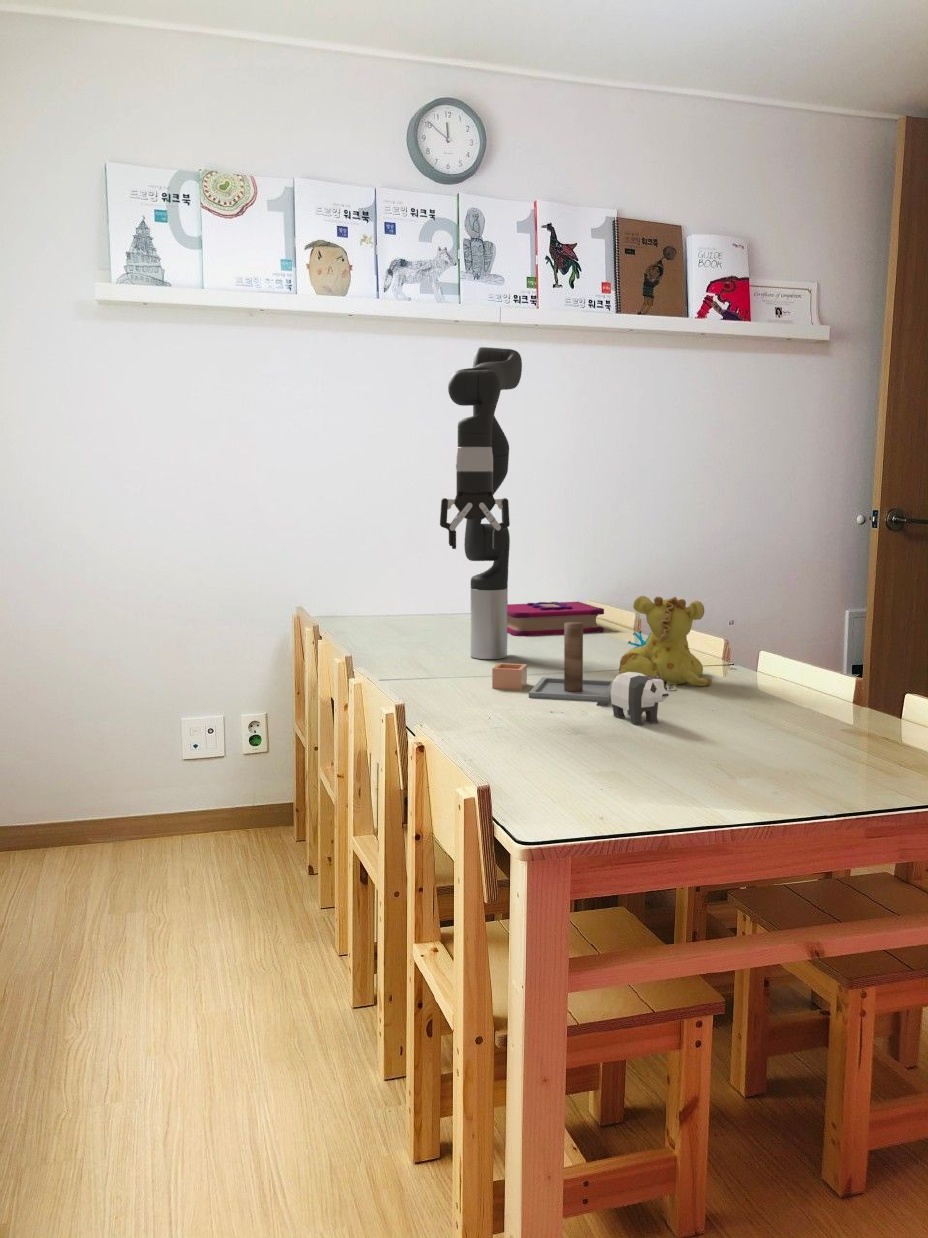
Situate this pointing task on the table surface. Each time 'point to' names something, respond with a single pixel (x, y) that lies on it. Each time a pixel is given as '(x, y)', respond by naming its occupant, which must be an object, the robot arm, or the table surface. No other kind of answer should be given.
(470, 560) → the robot arm
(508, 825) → the table surface
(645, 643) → the stick construction toy
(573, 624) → the dowel
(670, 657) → the giraffe plush
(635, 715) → the giant panda
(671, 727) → the table surface
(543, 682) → the tray
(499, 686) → the pencil cup
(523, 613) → the book
